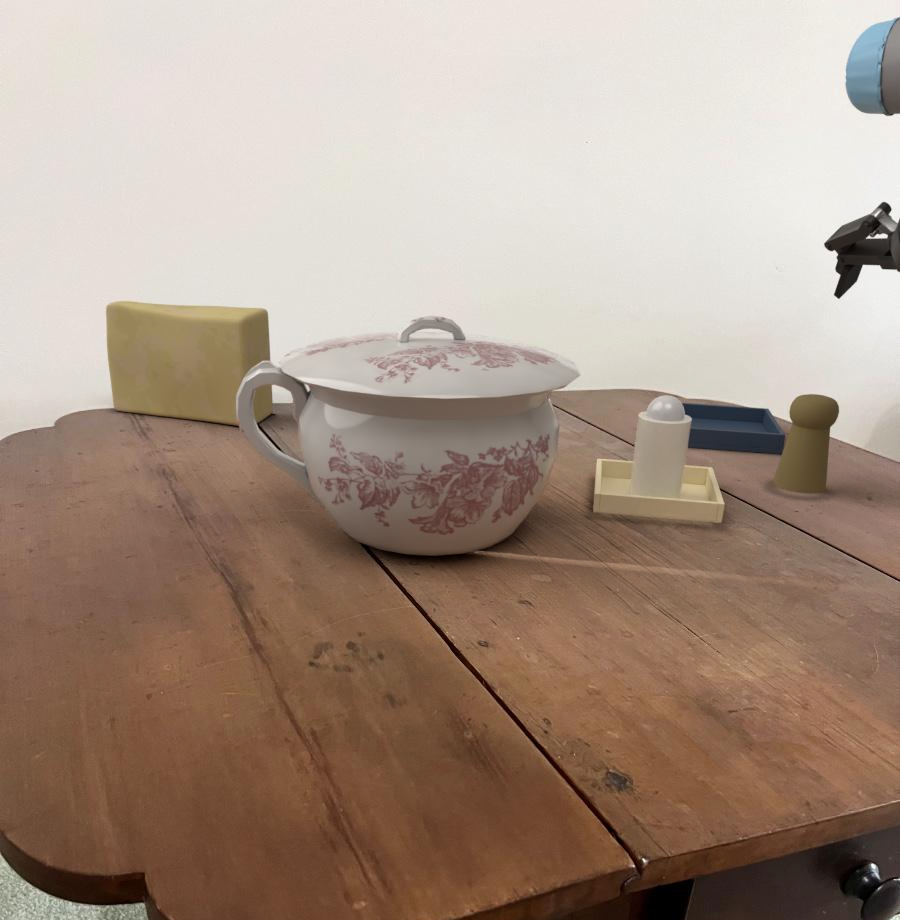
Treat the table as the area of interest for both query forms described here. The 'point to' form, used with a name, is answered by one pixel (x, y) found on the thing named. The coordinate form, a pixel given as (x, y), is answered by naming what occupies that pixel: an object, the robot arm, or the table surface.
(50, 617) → the table surface
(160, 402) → the cheese
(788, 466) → the olive tapered knobbed cylinder
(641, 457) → the salt shaker
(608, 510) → the light tray
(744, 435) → the dark tray
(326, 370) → the chamber pot
